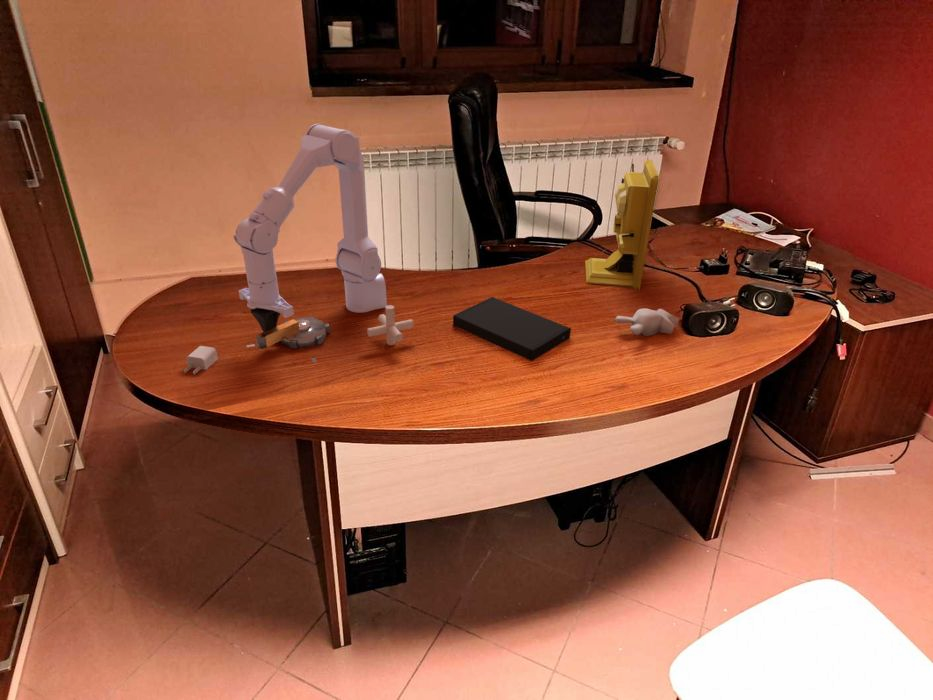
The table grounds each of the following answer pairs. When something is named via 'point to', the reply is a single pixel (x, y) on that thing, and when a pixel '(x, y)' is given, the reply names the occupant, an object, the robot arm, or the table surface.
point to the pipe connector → (390, 326)
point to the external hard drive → (512, 328)
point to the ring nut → (295, 333)
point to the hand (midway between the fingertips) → (271, 337)
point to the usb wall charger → (201, 358)
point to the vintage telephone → (628, 231)
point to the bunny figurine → (650, 321)
